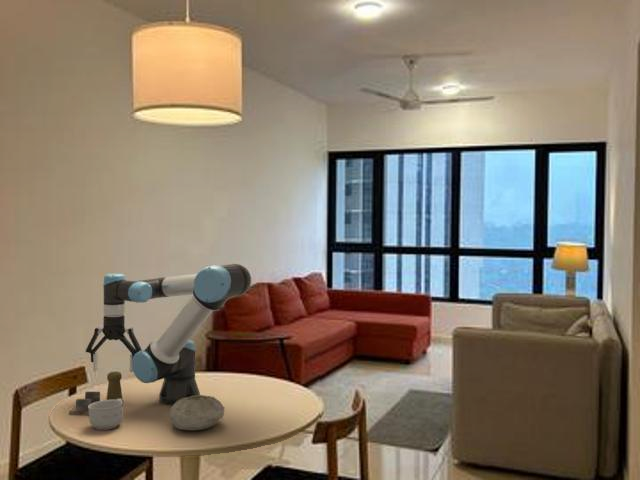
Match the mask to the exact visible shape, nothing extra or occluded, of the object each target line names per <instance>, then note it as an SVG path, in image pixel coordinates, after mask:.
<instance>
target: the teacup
mask: <svg viewBox="0 0 640 480" xmlns="http://www.w3.org/2000/svg"><path fill="white" fill-rule="evenodd" d="M124 407H125V401H124V399H117V400H106V399H103V400H100V401H98V402H94V403H92V404H90V405H89V406H88V409H89V414H88V417H89V419H88V420H89V423H90V424H89V425H91V426H92V427H93V428H94V429H96V430H99V431H108V430H111V429H114V428H116V427H118V426H119V424H120V423H121V422H122V421H123V416H124V415H123V414H124V413H123V410H124V409H123V408H124Z"/></svg>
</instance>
